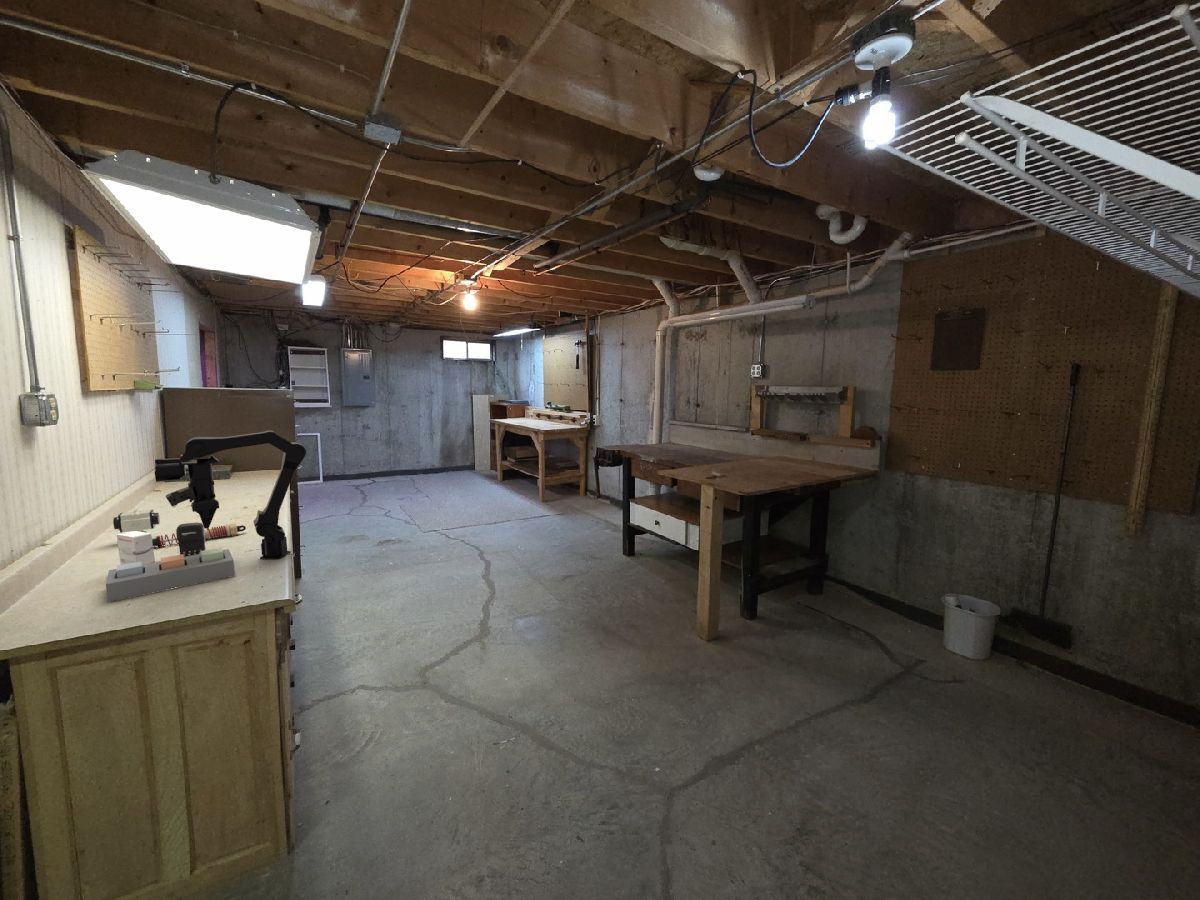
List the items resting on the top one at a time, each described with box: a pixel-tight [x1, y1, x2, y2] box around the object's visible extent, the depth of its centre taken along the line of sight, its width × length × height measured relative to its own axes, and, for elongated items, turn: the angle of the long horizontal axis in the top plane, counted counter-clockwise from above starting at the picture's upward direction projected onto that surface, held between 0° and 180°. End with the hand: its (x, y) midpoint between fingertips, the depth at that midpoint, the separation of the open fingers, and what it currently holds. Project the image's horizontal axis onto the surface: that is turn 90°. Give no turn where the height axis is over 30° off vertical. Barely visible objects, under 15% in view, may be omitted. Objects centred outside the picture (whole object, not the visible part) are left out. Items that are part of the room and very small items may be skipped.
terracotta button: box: [160, 554, 185, 570], centre depth 141 cm, size 5×5×4 cm
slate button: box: [116, 561, 143, 578], centre depth 135 cm, size 5×5×4 cm
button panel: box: [105, 548, 236, 603], centre depth 141 cm, size 27×13×5 cm, turn 133°
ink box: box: [116, 531, 156, 565], centre depth 149 cm, size 9×5×12 cm, turn 71°
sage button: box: [201, 547, 224, 562], centre depth 147 cm, size 5×5×4 cm
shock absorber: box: [152, 522, 247, 548], centre depth 177 cm, size 5×5×30 cm
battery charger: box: [175, 521, 207, 557], centre depth 161 cm, size 7×4×11 cm, turn 120°
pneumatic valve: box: [112, 509, 161, 534], centre depth 175 cm, size 6×12×12 cm, turn 127°
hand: (206, 527), depth 151 cm, fingers open, 2 cm apart
